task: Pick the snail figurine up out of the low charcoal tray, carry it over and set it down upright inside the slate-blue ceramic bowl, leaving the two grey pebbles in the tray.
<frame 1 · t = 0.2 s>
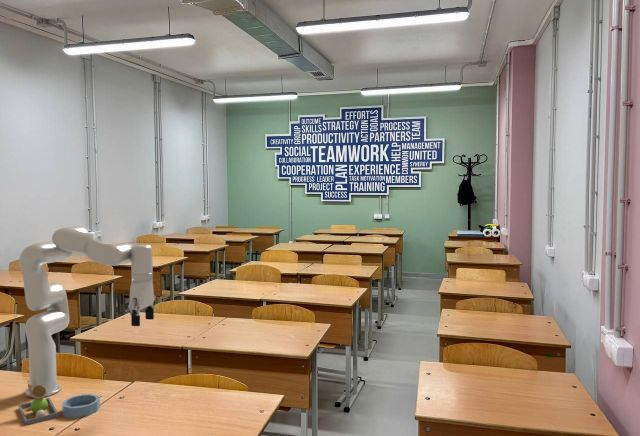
hand: (142, 322, 191), 31 cm above the table, tool pointing down, fingers open, 9 cm apart
bowl: (81, 410, 186), on the table
pebble a: (35, 407, 188), resting in tray
tray: (38, 412, 184), on the table
pebble b: (40, 418, 179), resting in tray
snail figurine: (38, 413, 184), resting in tray
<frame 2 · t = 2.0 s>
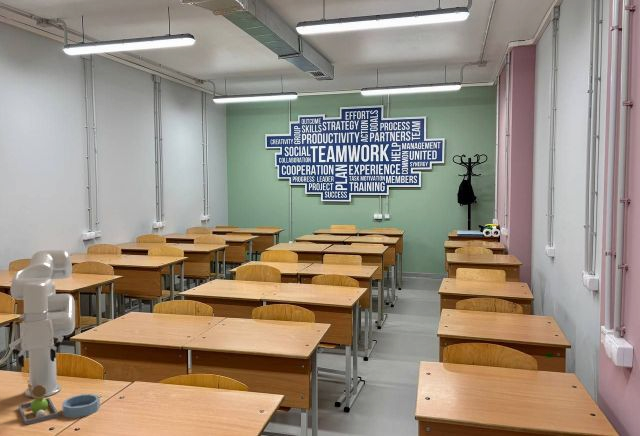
hand: (37, 363, 183), 18 cm above the table, tool pointing down, fingers open, 9 cm apart
nothing on the table moved.
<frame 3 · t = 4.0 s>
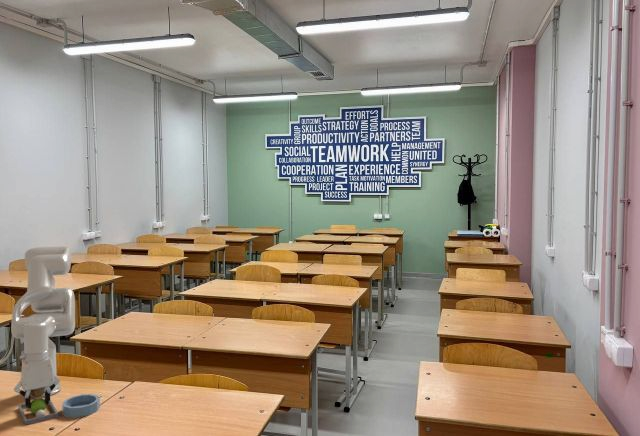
hand: (37, 404, 183), 3 cm above the table, tool pointing down, fingers closed on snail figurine, 5 cm apart
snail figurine: (36, 413, 183), resting in tray, touching gripper
everything else where it was.
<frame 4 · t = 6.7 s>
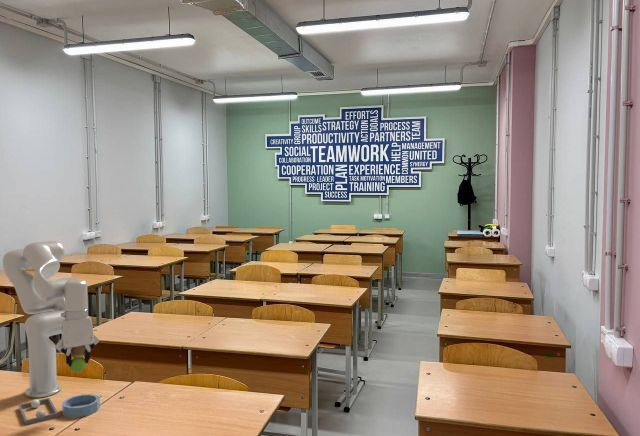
hand: (78, 363, 185), 18 cm above the table, tool pointing down, fingers closed on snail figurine, 5 cm apart
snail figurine: (76, 372, 184), point 14 cm above the table, touching gripper
everything else where it was.
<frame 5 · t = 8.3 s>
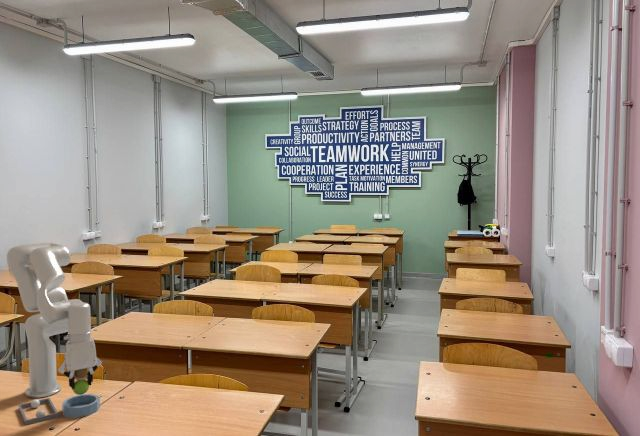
hand: (81, 385, 185), 9 cm above the table, tool pointing down, fingers closed on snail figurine, 5 cm apart
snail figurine: (79, 394, 185), point 6 cm above the table, touching gripper
everything else where it was.
when the fingers open (4 cm above the table, at t = 9.6 s): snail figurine stays where it is, resting on bowl.
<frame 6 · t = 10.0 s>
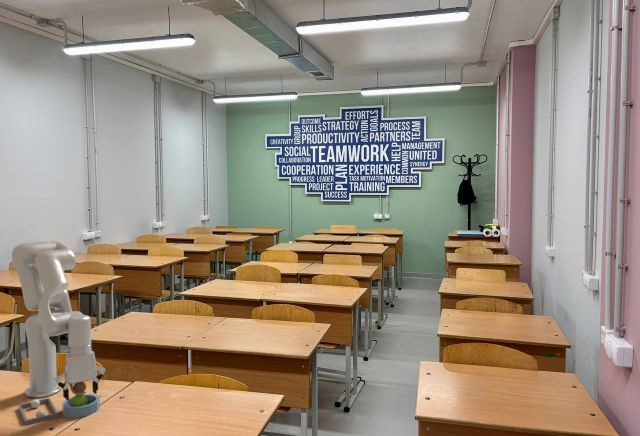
hand: (81, 395, 186), 5 cm above the table, tool pointing down, fingers open, 9 cm apart
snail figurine: (78, 409, 186), resting on bowl
everything else where it was.
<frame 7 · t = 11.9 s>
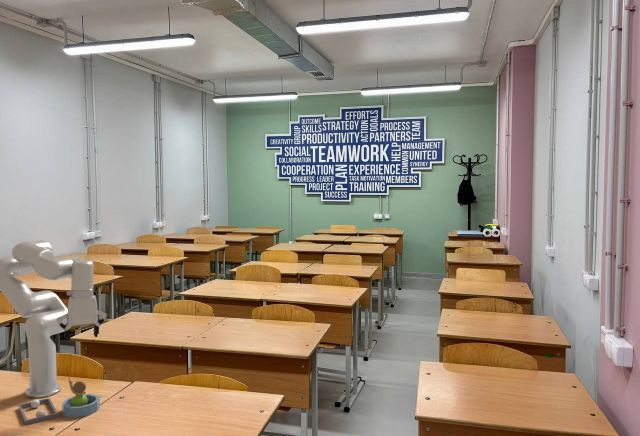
hand: (81, 338, 191), 25 cm above the table, tool pointing down, fingers open, 9 cm apart
nothing on the table moved.
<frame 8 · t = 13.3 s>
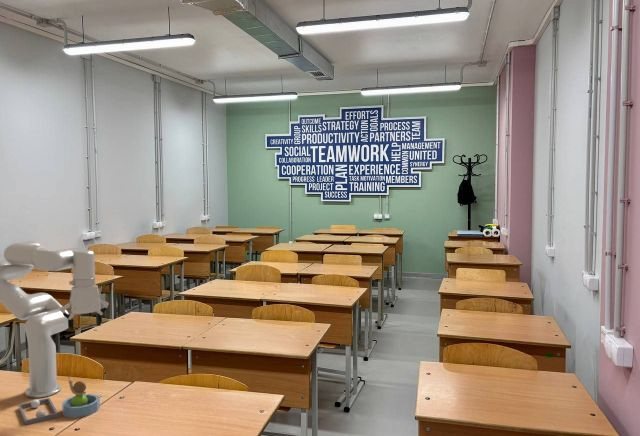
hand: (85, 327, 194), 28 cm above the table, tool pointing down, fingers open, 9 cm apart
nothing on the table moved.
at the end: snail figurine 1.0 cm from the bowl (horizontally); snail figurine resting on bowl; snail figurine tilted 0° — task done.
